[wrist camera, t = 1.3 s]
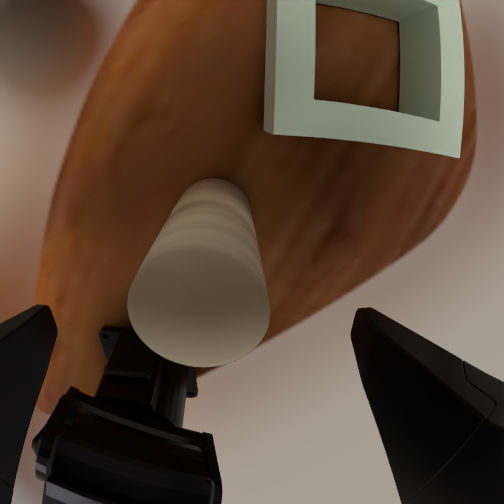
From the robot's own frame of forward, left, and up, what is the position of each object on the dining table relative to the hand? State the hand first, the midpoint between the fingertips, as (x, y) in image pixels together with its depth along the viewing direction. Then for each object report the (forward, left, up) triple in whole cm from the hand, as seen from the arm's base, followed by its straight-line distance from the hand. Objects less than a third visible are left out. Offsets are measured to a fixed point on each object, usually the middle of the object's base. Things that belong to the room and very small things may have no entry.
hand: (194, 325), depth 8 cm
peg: (0, 0, -9) cm, 9 cm away
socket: (+9, -7, -9) cm, 15 cm away
